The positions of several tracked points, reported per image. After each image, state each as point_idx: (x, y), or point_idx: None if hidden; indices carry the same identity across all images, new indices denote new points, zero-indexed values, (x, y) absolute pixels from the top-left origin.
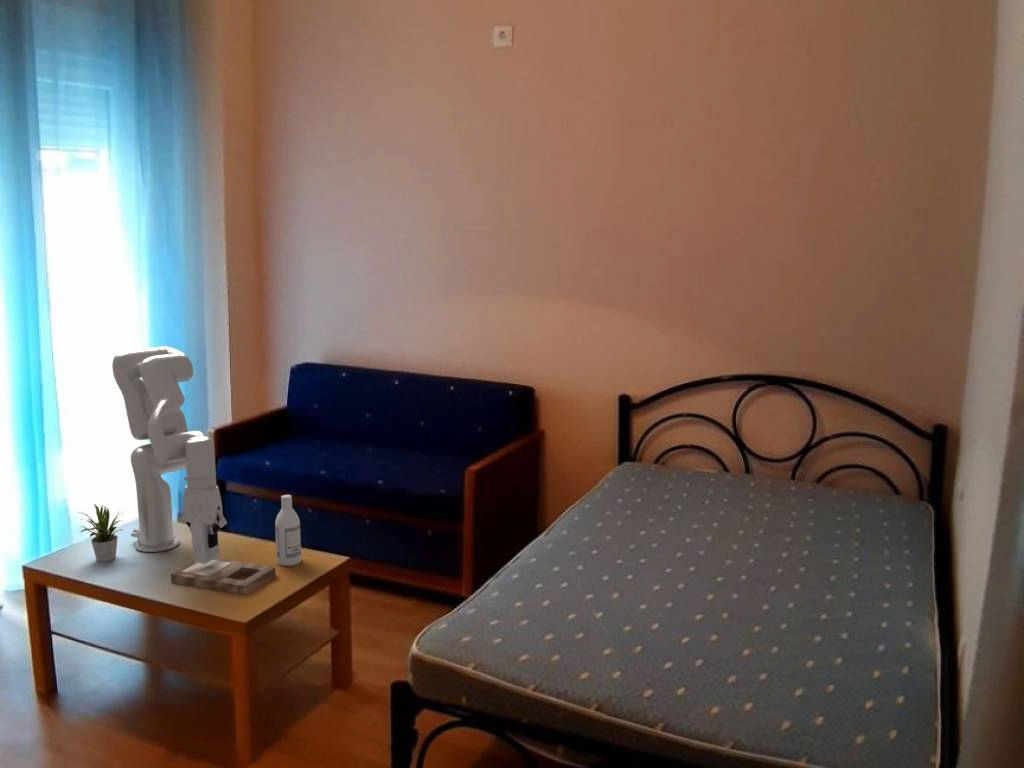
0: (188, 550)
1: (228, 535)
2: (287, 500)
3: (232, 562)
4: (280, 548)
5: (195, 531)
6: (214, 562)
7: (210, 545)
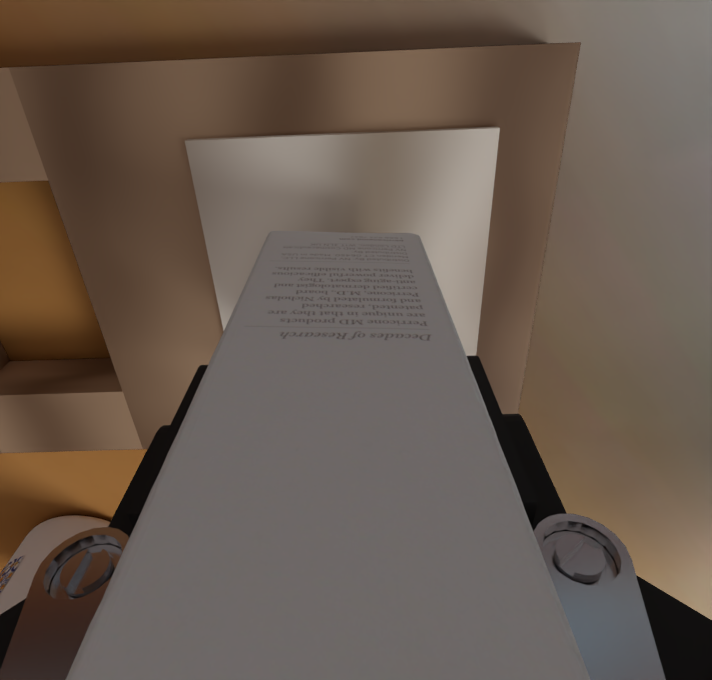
0: (697, 508)
1: None
2: None
3: None
4: None
5: (380, 491)
6: None
7: (192, 385)
